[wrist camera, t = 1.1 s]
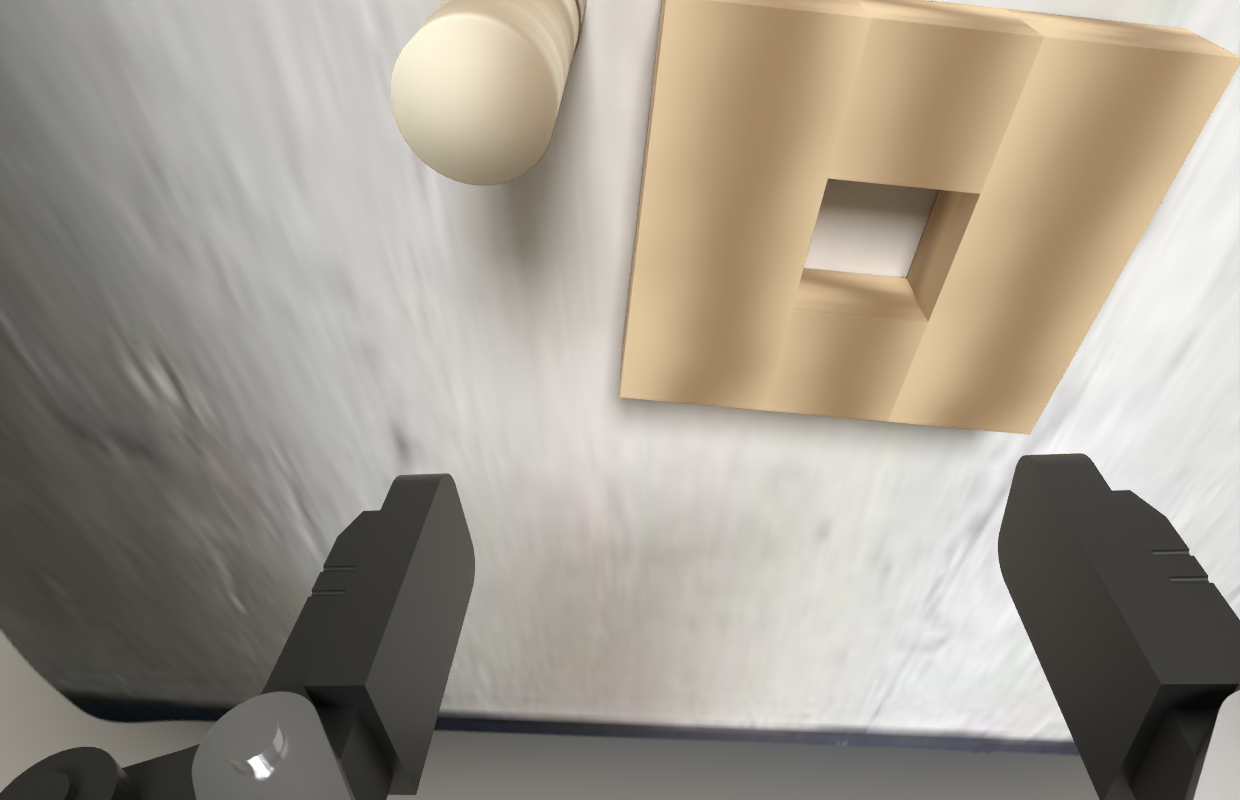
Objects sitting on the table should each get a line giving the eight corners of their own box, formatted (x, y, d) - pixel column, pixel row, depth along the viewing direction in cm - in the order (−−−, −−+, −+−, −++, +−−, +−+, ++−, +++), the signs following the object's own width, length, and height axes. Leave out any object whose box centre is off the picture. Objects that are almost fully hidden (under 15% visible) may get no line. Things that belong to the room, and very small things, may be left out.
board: (621, 351, 32) (619, 397, 30) (665, -29, 24) (666, -5, 21) (1002, 386, 33) (1029, 434, 31) (1185, 29, 24) (1242, 58, 22)
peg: (474, 48, 25) (396, 179, 17) (471, -79, 23) (379, 7, 15) (584, 59, 25) (554, 194, 17) (591, -66, 23) (561, 26, 15)
